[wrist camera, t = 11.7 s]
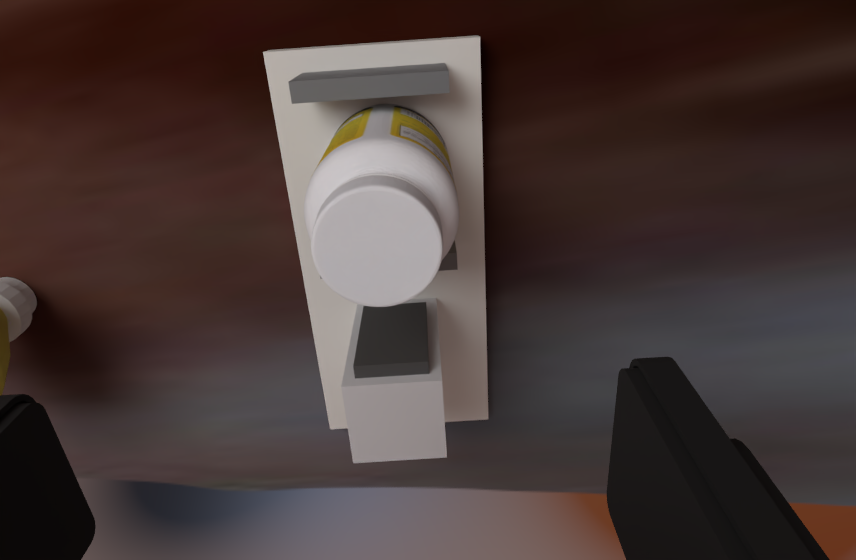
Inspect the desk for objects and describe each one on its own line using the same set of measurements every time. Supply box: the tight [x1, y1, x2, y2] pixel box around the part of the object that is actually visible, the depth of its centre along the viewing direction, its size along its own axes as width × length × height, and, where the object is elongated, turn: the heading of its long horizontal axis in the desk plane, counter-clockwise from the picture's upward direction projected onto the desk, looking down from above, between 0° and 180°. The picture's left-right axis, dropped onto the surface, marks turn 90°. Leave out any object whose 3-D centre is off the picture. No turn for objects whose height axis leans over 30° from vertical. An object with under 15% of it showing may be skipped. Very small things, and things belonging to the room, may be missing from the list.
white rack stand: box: [263, 36, 488, 463], centre depth 25 cm, size 9×20×8 cm, turn 4°
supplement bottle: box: [304, 104, 459, 307], centre depth 21 cm, size 5×5×10 cm
